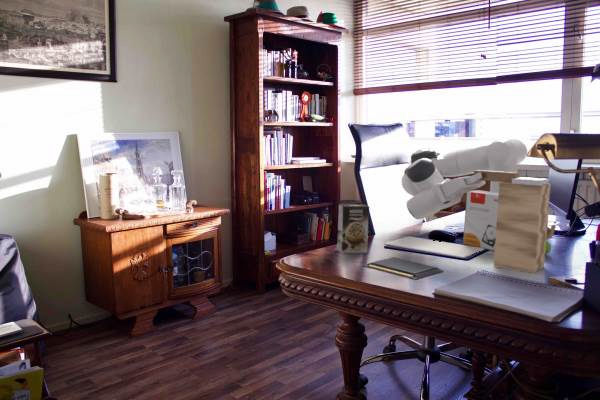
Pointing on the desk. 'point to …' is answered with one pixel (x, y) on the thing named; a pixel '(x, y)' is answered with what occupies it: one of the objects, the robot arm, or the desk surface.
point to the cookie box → (353, 228)
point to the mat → (435, 247)
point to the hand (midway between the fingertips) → (485, 174)
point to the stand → (521, 226)
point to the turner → (510, 178)
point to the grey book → (404, 268)
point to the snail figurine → (549, 235)
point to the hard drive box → (481, 219)
